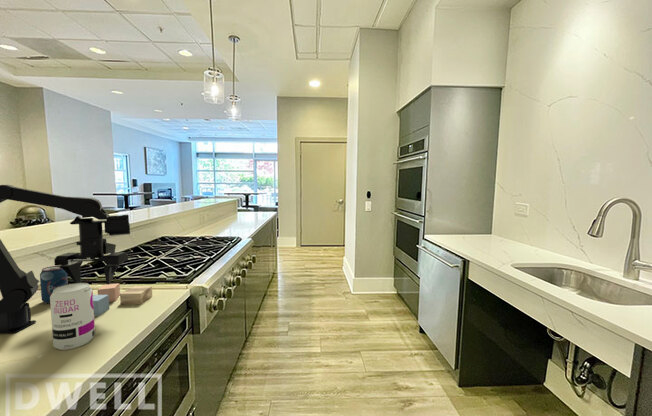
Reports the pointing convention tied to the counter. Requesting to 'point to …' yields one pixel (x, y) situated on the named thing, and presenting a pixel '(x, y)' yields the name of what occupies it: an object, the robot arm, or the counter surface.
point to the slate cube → (100, 304)
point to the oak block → (136, 295)
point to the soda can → (51, 281)
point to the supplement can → (72, 315)
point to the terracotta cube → (110, 291)
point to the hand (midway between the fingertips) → (93, 284)
